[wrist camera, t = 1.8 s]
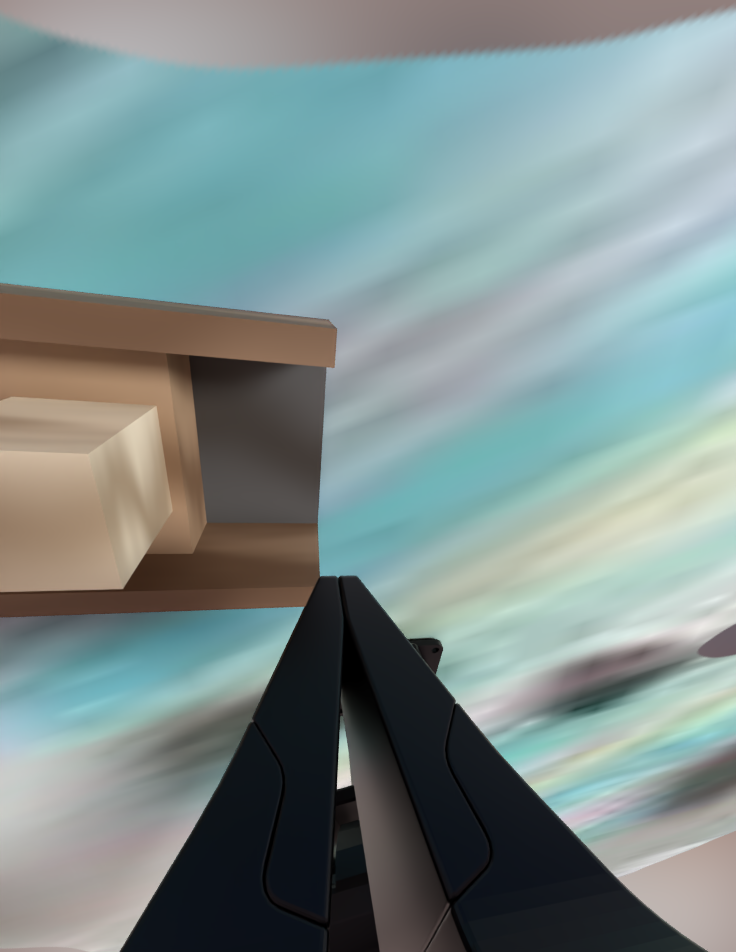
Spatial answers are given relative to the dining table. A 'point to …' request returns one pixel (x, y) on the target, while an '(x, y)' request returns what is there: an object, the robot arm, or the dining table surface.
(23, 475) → the birch block
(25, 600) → the trap box
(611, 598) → the dining table surface
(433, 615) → the dining table surface
